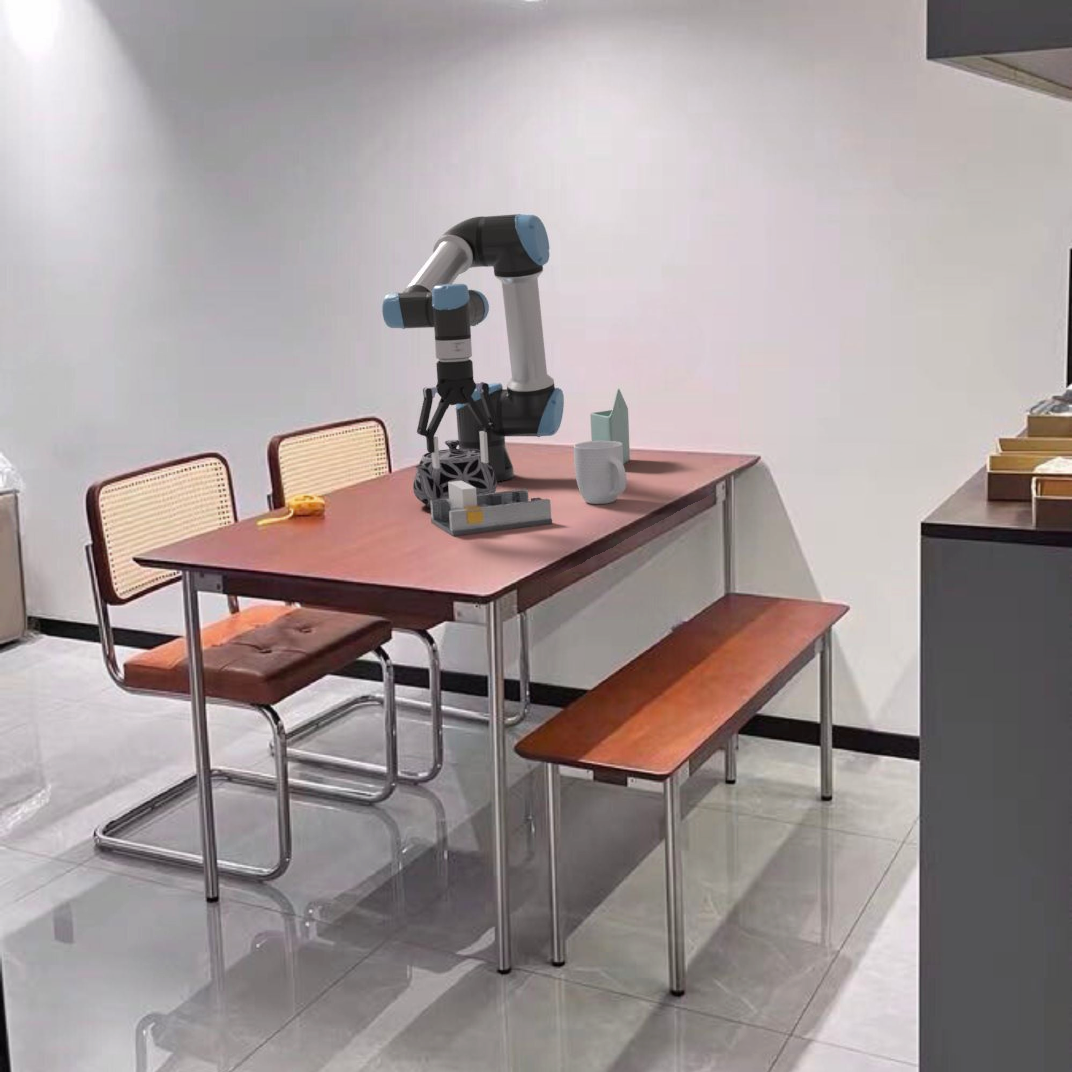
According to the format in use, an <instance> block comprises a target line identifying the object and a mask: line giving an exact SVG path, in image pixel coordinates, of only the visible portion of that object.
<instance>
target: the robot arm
mask: <svg viewBox="0 0 1072 1072" xmlns="http://www.w3.org/2000/svg"><path fill="white" fill-rule="evenodd" d="M548 236H549V235H548V232H547V230H546V227H545V225H544V223H543V222H542V220H541V219H540V217H538V216H537V215H534V214H521V213H517V214H516V213H515V214H503V215H491V216H490V215H489V216H482V215H481V216H473V217H471V218H467V219H465V220H463V221H461V222H459V223H457V224H456V225H454V226H452V227H451V228H450V229H448V230H447V231H445V232H444V233H443V234H442V235H441V236H440V237H439V238H438V239H437V241H436V242H435V244H434V245H433V249H432V254H431V255H430V257H429V258H428V259H427V260H426V262H425V263H424V264H423V266H422V267H421V269H420V270H419V271H418V272H417V274H416V275H415V276H414V277H413V279H412V280H411V281H410V282H409V284H408V285H407V286H406V288H405V289H404V290H403V291H402V292H398V291H397V292H394V293H389V294H386V295H385V296H384V298H383V301H382V307H381V309H382V311H381V312H382V316H383V317H382V318H383V321H384V324H385V325H386V326H387V327H389V328H390V329H401V330H406V329H421V328H422V329H423V328H424V329H425V328H426V329H427V328H429V329H430V328H434V347H435V348H434V349H435V358H436V359H437V360H438V361H437V362H436V365H435V366H436V378H437V381H436V382H437V383H436V385H435V386H434V387H433V386H432V387H423V388H422V393H423V394H422V395H423V401H422V407H421V411H420V415H419V419H418V423H417V424H418V425H417V428H416V433H417V434H418V435H420V436H423V437H425V438H426V441H425V442H426V451H427V453H432V465H433V467H434V468H436V469H439V468H440V464H439V450H440V449H439V448H440V447H439V438H438V437H437V436H435V435H436V433H437V431H438V428H439V426H440V424H441V422H442V420H443V418H444V416H445V413H446V412H447V410H448V409H449V407H450V406H455V411H456V412H455V413H456V425H457V426H456V427H457V440H459V441H460V443H459V445H458V449H476V450H480V452H481V462H483V463H488V461H489V463H490V464H491V466H492V469H493V471H494V473H495V476H496V480H497V482H502V481H506V480H507V481H508V480H511V479H512V478H514V476H515V475H514V474H515V473H514V472H515V471H514V465H513V463H512V460H511V459H510V455H509V453H508V451H507V448H506V437H537V438H540V437H550V436H554V435H556V433H558V431H559V430H560V427H561V424H562V420H563V414H564V407H565V405H564V404H565V402H564V401H565V397H564V392H563V390H562V389H561V388H559V387H556V385H555V380H554V378H553V377H552V376H550V375H549V374H548V371H547V361H546V352H545V350H546V349H545V340H544V330H543V320H542V310H541V309H542V308H541V300H540V291H539V281H538V278H539V277H540V275H541V274H542V273H543V272H544V266H545V265H546V264H548V262H549V260H550V243H549V242H550V241H549V237H548ZM480 267H486V268H489V267H493V274H494V277H495V278H496V279H498V280H499V281H500V282H501V288H502V297H503V306H504V317H505V324H506V325H505V326H506V335H507V343H508V352H509V362H510V371H511V378H510V380H509V381H508V382H507V383H506V389H505V388H504V386H503V384H502V383H501V382H498V383H497V382H493V383H488V382H487V383H486V382H485V381H484V382H483V381H482V382H480V383H479V382H478V383H476V382H475V380H474V368H473V367H474V366H473V365H474V364H473V363H474V362H473V361H472V359H470V358H471V357H473V351H472V349H473V348H472V335H471V334H472V331H471V330H472V329H471V327H476V326H477V325H479V324H480V323H482V322H484V321H485V319H486V318H487V316H488V315H489V311H490V304H489V301H488V299H487V297H486V295H484V293H482V292H481V291H478V290H475V289H469V288H468V285H467V284H464V283H454V282H455V281H456V279H457V278H458V276H459V275H461V274H463V273H466V272H467V271H468V270H469V269H470V268H471V269H472V268H480ZM436 394H438V396H439V397H440V399H439V402H438V405H437V407H436V410H435V412H434V413H433V416H432V418H431V420H429V419H430V416H431V410H432V406H433V401H434V398H435V397H436ZM429 421H430V422H429Z"/></svg>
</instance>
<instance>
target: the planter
mask: <svg viewBox="0 0 1072 1072" xmlns="http://www.w3.org/2000/svg"><path fill="white" fill-rule="evenodd" d="M614 397H615V398H614V401H613V402H614V403H613V405H612V409H610V410H602V411H596V412H591V413H590V415H589V416H590V434H591V435H590V436H591V437H590V438H591V441H616V442H620V443H622V448H623V465H624V464H626V463H628V461H630V459H631V458H630V457H631V453H630V427H629V407H628V405H627V402H626V400H625V398H624V397H623V394H622V392H621V390H620V388H617V390H616V393H615V396H614Z"/></svg>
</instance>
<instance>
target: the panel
mask: <svg viewBox="0 0 1072 1072" xmlns="http://www.w3.org/2000/svg"><path fill="white" fill-rule="evenodd" d="M448 488H449V504H450V508H457V507H459V508H461V509H464V508H465V507H474V506H477V496H476V488H475V487H473V486H471V485H469V484H467V483H465V482H463V481H453V482H448ZM450 511H451V510H450Z"/></svg>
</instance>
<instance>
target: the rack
mask: <svg viewBox="0 0 1072 1072" xmlns="http://www.w3.org/2000/svg"><path fill="white" fill-rule="evenodd" d="M476 496H477V506H474V507H465V508H464V509H461V508H459V507H457V508H450V504H449V498H444V499H436V500H430V504H431V508H430V523H431V524H433V525H435V526H436V527H437V528H439V529H441V530H443V531H444V532H446V533H447V534H449V535H451V536H452V537H458V536H459V537H460V536H465V535H473V534H474V535H475V534H481V533H482V534H483V533H490V532H498V531H503V530H504V531H505V530H512V529H521V528H528V527H535V526H536V527H537V526H544V525H551V524H553V519H552V509H551V508H552V507H551V504H552V503H551V499H548V498H546V499H543V498H541V497H534V498H529V490H528V489H527V488H522V489H514V490H506V491H497V492H496V491H495V493H487V494H478V495H476ZM529 499H530V500H529ZM450 510H451V511H450Z"/></svg>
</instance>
